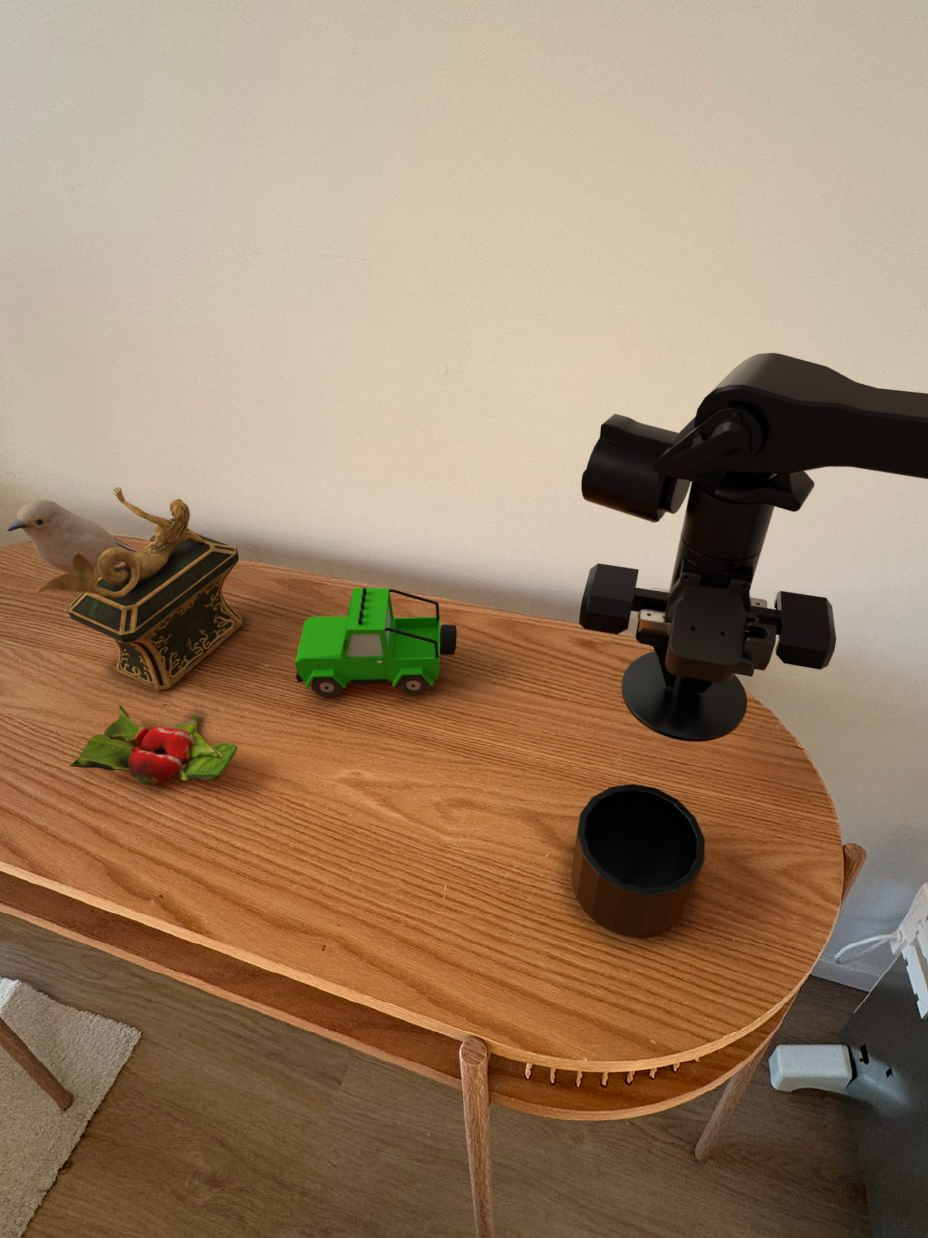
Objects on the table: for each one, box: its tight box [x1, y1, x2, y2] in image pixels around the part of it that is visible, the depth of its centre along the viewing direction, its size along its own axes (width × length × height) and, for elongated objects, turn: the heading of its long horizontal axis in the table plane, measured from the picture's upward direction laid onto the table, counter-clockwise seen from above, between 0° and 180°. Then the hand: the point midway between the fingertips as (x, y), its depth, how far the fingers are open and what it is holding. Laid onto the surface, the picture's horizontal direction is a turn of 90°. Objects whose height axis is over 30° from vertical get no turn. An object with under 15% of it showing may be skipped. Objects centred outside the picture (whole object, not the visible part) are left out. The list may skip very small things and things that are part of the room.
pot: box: [570, 783, 706, 939], centre depth 60 cm, size 10×10×7 cm
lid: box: [620, 650, 748, 743], centre depth 62 cm, size 11×11×5 cm
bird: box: [6, 499, 138, 579], centre depth 89 cm, size 5×14×15 cm, turn 145°
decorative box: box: [35, 486, 243, 692], centre depth 78 cm, size 20×10×20 cm, turn 151°
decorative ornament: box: [70, 705, 238, 787], centre depth 72 cm, size 15×5×10 cm
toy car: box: [294, 587, 458, 698], centre depth 78 cm, size 8×17×10 cm, turn 91°
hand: (684, 686), depth 63 cm, fingers closed on lid, 2 cm apart
